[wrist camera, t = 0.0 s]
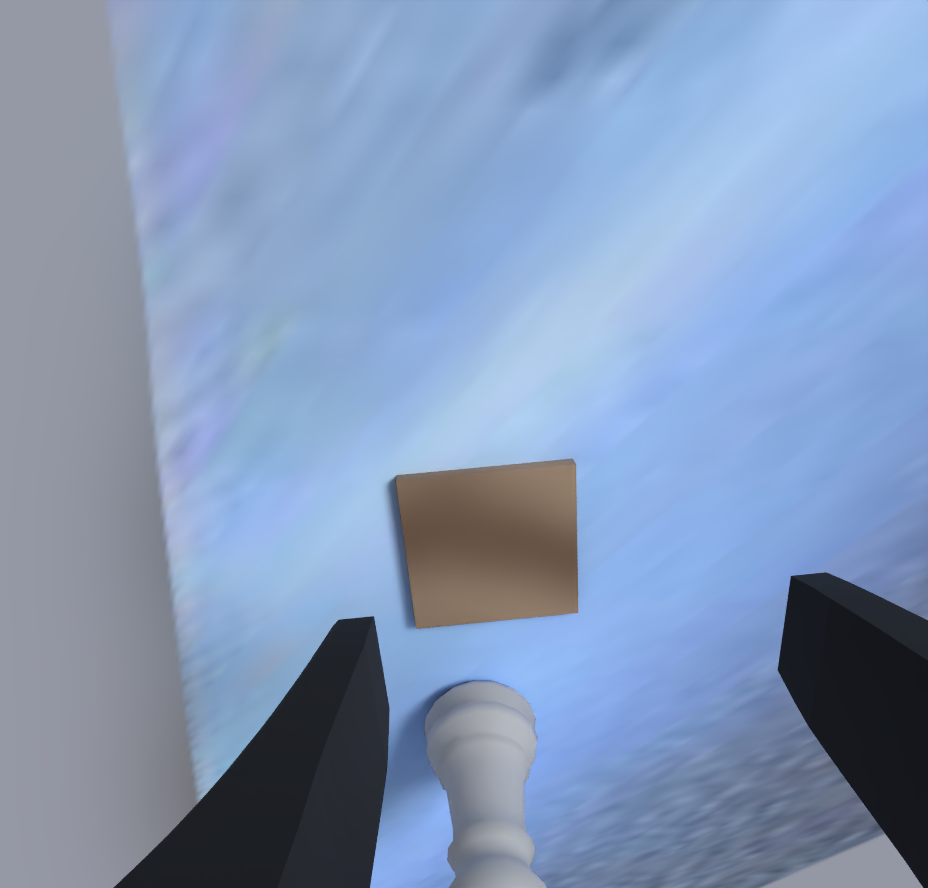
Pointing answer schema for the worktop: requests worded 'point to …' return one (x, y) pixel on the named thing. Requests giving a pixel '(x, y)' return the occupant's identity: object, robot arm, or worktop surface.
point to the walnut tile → (491, 542)
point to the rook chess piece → (485, 781)
